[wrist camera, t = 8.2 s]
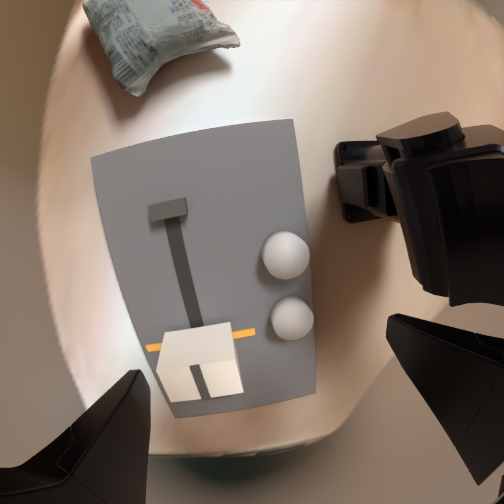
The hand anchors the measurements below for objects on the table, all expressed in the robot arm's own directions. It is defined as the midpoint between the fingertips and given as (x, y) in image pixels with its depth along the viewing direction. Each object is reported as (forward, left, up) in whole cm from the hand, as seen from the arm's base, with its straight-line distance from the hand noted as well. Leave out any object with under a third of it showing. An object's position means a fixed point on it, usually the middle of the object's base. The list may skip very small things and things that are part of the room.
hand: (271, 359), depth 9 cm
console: (+2, +3, -13) cm, 13 cm away
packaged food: (+3, -20, -13) cm, 24 cm away
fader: (+4, +6, -10) cm, 13 cm away
